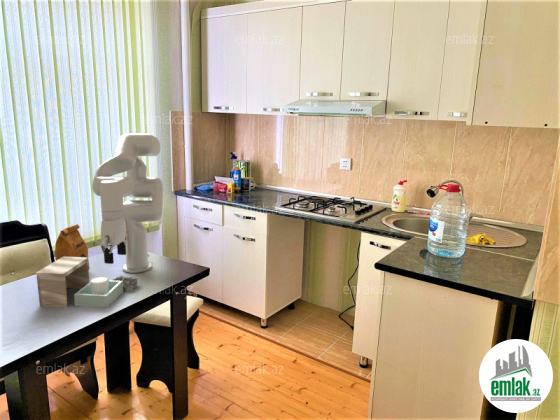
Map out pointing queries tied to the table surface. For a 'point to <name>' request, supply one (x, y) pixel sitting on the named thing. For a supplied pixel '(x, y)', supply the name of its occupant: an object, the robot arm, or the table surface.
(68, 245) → the coffee package
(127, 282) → the egg carton
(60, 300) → the beige wooden block
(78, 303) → the tray
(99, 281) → the shot glass
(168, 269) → the table surface
